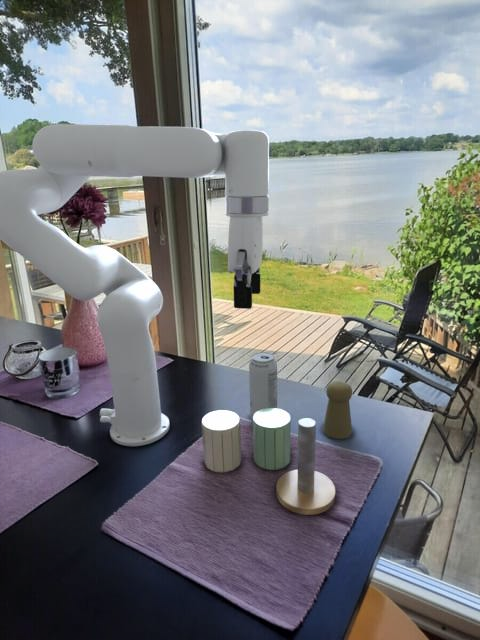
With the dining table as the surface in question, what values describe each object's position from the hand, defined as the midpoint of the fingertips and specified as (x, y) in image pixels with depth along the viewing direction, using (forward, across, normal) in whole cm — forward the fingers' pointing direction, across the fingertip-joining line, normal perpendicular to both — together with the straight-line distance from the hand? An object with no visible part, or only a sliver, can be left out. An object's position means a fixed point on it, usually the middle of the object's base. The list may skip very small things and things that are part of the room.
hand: (247, 300), depth 83 cm
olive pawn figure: (+29, -4, +18) cm, 35 cm away
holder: (+29, +16, +13) cm, 36 cm away
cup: (+30, +9, -4) cm, 31 cm away
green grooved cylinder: (+29, +7, +6) cm, 31 cm away
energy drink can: (+30, -7, +2) cm, 31 cm away
